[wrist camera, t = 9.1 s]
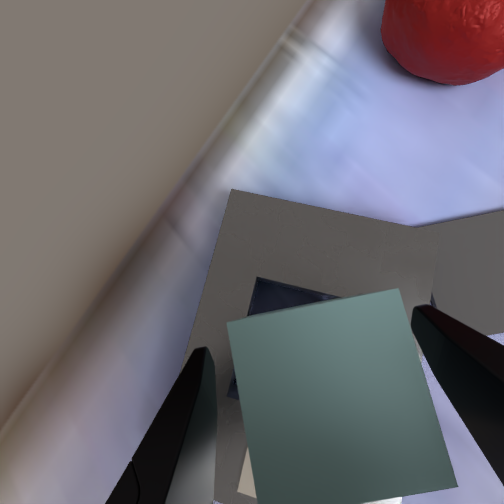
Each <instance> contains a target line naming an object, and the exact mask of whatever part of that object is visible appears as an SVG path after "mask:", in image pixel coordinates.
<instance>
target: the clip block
mask: <svg viewBox="0 0 504 504" xmlns="http://www.w3.org/2000/svg"><path fill="white" fill-rule="evenodd" d="M227 329H228V334H229V340H230V346H231V352H232V358H233V363H234V369H235V375H236V381H237V387H238V392H239V398H240V404H241V410H242V416H243V421H244V427H245V433H246V439H247V445H248V450H249V456H250V462H251V468H252V474H253V479H254V485H255V491H256V497H257V503H258V504H363V503H368V502H374V501H380V500H386V499H391V498H397V497H403V496H409V495H415V494H420V493H426V492H432V491H438V490H443V489H449V488H455V487H458V485H457V481H456V478H455V475H454V471H453V468H452V465H451V461H450V458H449V455H448V451H447V448H446V445H445V441H444V438H443V435H442V431H441V428H440V425H439V421H438V418H437V415H436V411H435V408H434V405H433V401H432V398H431V395H430V391H429V388H428V385H427V381H426V378H425V375H424V371H423V368H422V365H421V361H420V358H419V355H418V351H417V348H416V345H415V341H414V338H413V335H412V331H411V328H410V325H409V321H408V318H407V315H406V311H405V308H404V305H403V301H402V298H401V295H400V291H399V288H397V289H391V290H385V291H379V292H372V293H366V294H360V295H354V296H348V297H342V298H336V299H330V300H324V301H319V302H314V303H309V304H304V305H299V306H294V307H289V308H284V309H279V310H274V311H269V312H264V313H259V314H254V315H251V316H247V317H244V318H240V319H237V320H234V321H230V322H227Z"/></svg>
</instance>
